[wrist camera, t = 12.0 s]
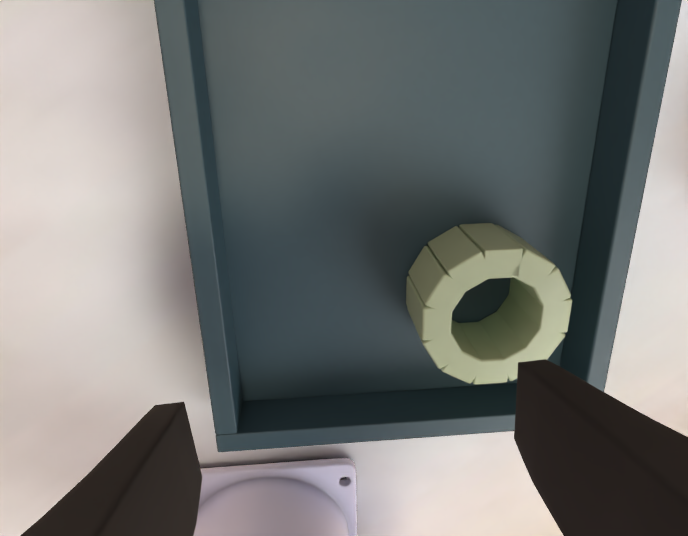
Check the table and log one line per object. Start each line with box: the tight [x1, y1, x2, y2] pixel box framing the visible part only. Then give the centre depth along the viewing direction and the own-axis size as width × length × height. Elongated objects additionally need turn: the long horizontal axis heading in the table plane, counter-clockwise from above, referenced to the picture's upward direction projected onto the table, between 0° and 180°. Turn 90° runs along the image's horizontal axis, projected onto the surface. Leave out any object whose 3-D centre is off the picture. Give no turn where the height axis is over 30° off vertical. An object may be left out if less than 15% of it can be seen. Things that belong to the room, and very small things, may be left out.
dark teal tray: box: [154, 0, 682, 452], centre depth 17 cm, size 19×15×2 cm
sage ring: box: [406, 223, 572, 384], centre depth 18 cm, size 5×5×3 cm
